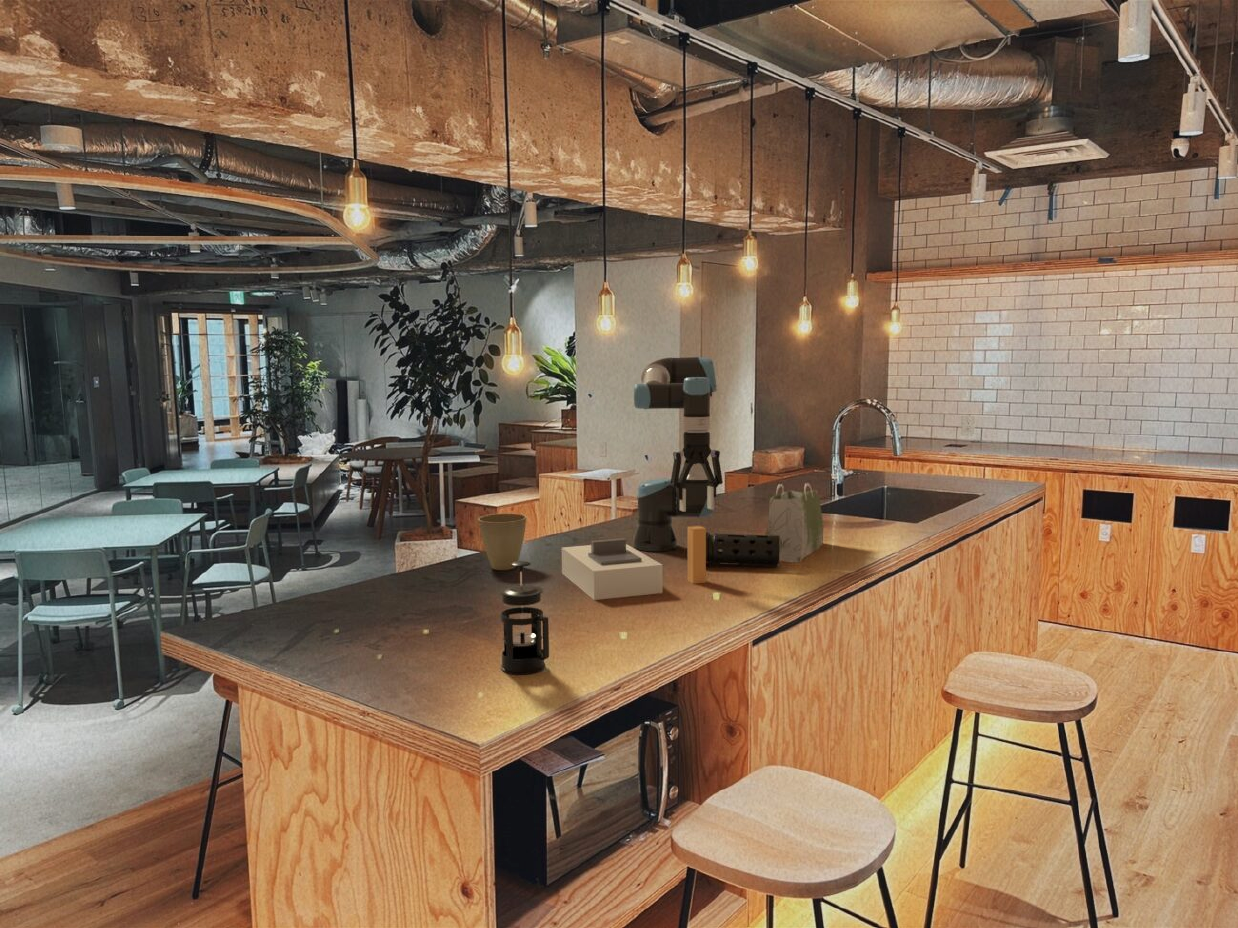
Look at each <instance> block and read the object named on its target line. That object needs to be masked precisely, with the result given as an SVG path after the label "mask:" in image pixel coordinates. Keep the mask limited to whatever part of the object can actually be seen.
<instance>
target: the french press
mask: <svg viewBox="0 0 1238 928" xmlns="http://www.w3.org/2000/svg"><path fill="white" fill-rule="evenodd" d="M531 564H532V563H531V562H529V561H525V560H518V561H517V562H513V563H511V565H512V566H516V567H517V568H518V572H519V578H520V579H519V581H520V583H519V585H511V586H507V587H503V588H501V589H500V591H499V594H500V595H501V596H502V597H501V598H502V602H503V604H505V605H509V606H516V607H512V608H507V609H505V610H502V611H501V613H500V621H501V622H502V623H503V638H502V641H503V649H504V650H502V652H501V666H500V669H501V671H502V672H504V673H506V674H509V675H516V676H526V675H527V676H529V675H533V674H537V673H539V672H542V671H543V670H544V669H545V668H546V663H545V660H547V659H549V658H550V629H549V617H547V616H544V612H543V610H542V609H539V608H538V607H537V608H536V607H531V606H529V605H536V604H538V603H540V601H541V597H542V594H543V592H544V591H543V588H542V587H539V586H537V585H531V584H529V585H528V584H527V585H526V584H525V585H524V584H523V572H524V567H528V566H531ZM516 567H515V568H516ZM516 614H520V618H510V615H516ZM524 614H530V617H528V618H524ZM529 625H530V627H531V632H529V631H528V632H527V631H525V632H524V626H529ZM514 626H521V627H520V628H521V631H520V632H515V633H514V628H513V627H514Z"/></svg>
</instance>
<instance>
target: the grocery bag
mask: <svg viewBox="0 0 1238 928" xmlns="http://www.w3.org/2000/svg"><path fill="white" fill-rule="evenodd" d="M807 487H809V489H810V490H808V491H806V489H807ZM780 488H781V489H782V492H781V494H778V493H779V492H778V491H779V489H780ZM784 489H785V488H784V485H783V484H782V483H779V484H778V485H777V487H776V490H775V491H776V493H775V495H774V496H772V497H771V498H769V506H768V507H769V511H768V520H767V526H766V531H765V535H779V537H780V549H779V562H788V563H799V564H800V563H801V562H802V560H803V559H804V558H806V557H807V556H809V555H810V554H813V553H814V552H815V551H817V550H819V549H820V548H821V546H822V545H823V543H824V542H823V541H824V521H823V514H822V513H823V512H822V508H821V502H820V497H819V493H818V489H812V487H811V484H810V483H809V482H807V483H804V487H803V490H804V491H803V492H800V491H795V490H788V491H784Z"/></svg>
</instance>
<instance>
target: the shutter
mask: <svg viewBox="0 0 1238 928" xmlns="http://www.w3.org/2000/svg"><path fill="white" fill-rule="evenodd" d="M626 544H627V539H626V538H624V537H622V538H612V539H610V538H609V539H600V540H599V539H597V540H591V542H590V545H591V553H588V556H589V557H591V558H592V559H594V560H595V561H596V562H598V563H599V564H601V565H604V564H615V563H626V562H636V561H641V558H640V557H639V556H637V555H635V554H633V553H632V552H630V551H628V550H626Z"/></svg>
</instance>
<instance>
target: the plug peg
mask: <svg viewBox="0 0 1238 928" xmlns="http://www.w3.org/2000/svg"><path fill="white" fill-rule="evenodd" d="M706 532H707V528H705V527H704V526H701V525H695V526H693V525H692V526H687V581H688V582H689V583H691V584H693V585H694V584H704V583H707V582H706V581H707V579H706V578H707V576H706V575H707V566H706V565H707V563H706Z"/></svg>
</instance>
